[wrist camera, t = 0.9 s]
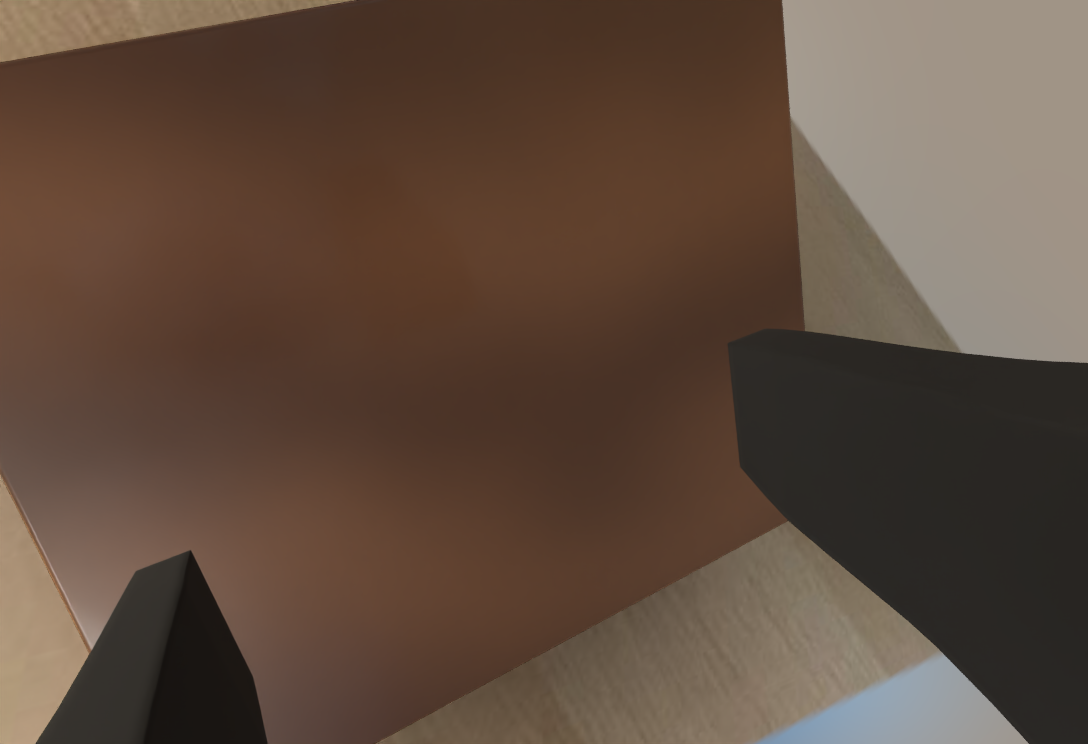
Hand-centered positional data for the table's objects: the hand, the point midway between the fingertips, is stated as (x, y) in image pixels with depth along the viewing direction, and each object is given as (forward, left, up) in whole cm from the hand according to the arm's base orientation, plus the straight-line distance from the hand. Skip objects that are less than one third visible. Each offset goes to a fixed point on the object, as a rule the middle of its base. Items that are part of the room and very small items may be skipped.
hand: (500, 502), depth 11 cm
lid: (+3, -2, -5) cm, 6 cm away
